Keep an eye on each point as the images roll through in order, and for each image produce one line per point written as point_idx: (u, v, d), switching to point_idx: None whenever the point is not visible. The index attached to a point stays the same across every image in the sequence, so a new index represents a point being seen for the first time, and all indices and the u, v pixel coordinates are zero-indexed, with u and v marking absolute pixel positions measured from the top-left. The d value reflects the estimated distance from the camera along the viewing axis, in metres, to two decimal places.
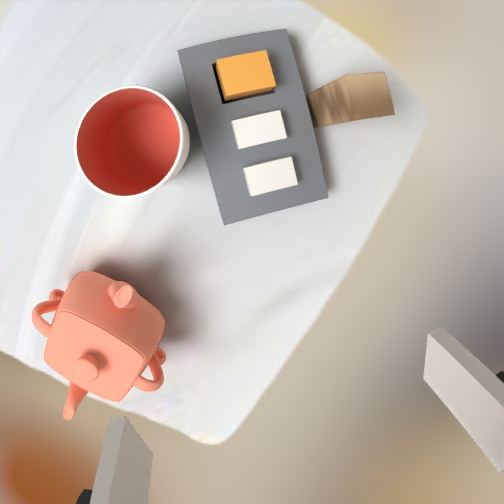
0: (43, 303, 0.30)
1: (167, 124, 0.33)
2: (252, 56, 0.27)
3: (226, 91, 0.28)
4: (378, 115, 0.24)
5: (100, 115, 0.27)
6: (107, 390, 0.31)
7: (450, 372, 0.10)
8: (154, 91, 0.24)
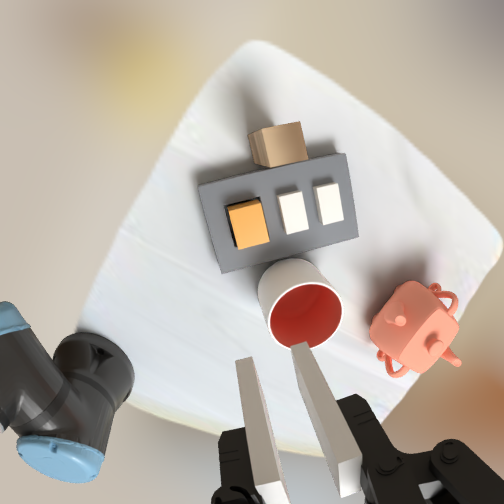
0: (387, 367, 0.47)
1: None
2: (235, 222, 0.39)
3: (265, 241, 0.40)
4: (302, 138, 0.31)
5: (276, 330, 0.43)
6: (450, 334, 0.43)
7: (303, 386, 0.12)
8: (275, 302, 0.38)
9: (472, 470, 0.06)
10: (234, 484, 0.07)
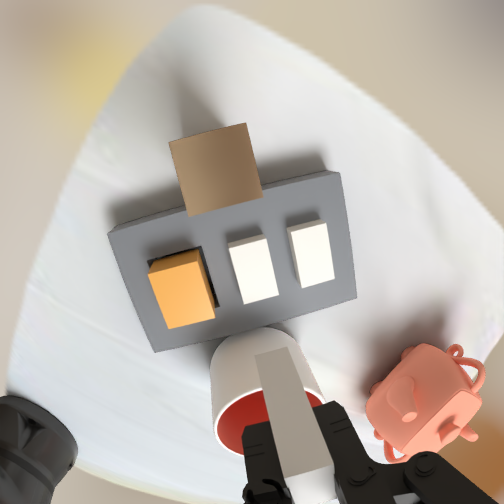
0: (385, 452, 0.33)
1: None
2: (159, 290, 0.24)
3: (209, 317, 0.26)
4: (251, 155, 0.16)
5: (233, 426, 0.29)
6: (470, 412, 0.29)
7: None
8: (222, 410, 0.23)
9: (449, 482, 0.06)
10: (267, 477, 0.07)
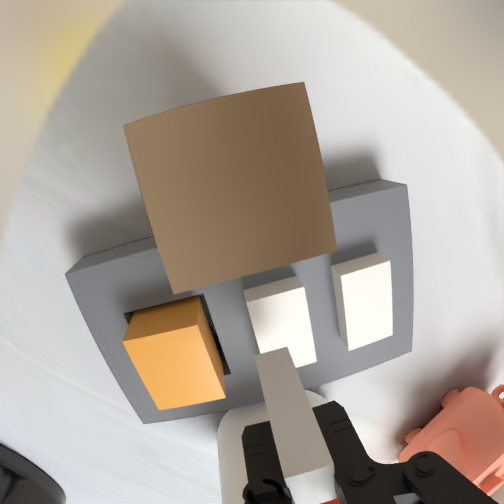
0: None
1: None
2: (141, 363, 0.15)
3: (217, 398, 0.16)
4: (316, 157, 0.07)
5: None
6: None
7: None
8: None
9: (449, 482, 0.06)
10: (267, 477, 0.07)
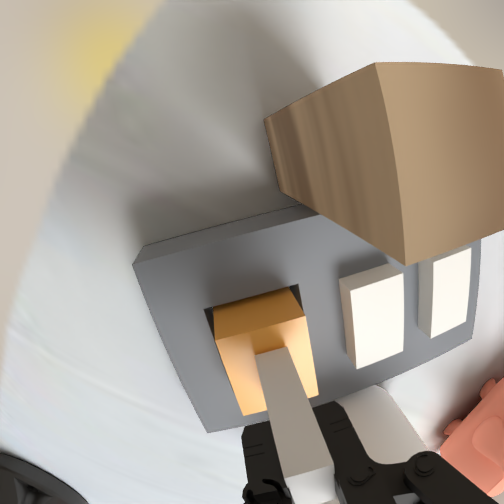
0: None
1: None
2: (234, 364, 0.14)
3: (310, 395, 0.15)
4: None
5: None
6: None
7: None
8: None
9: (449, 482, 0.06)
10: (267, 477, 0.07)
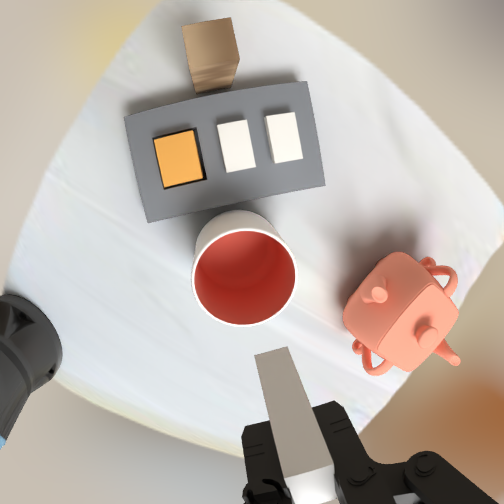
0: (363, 362, 0.38)
1: None
2: (161, 153, 0.30)
3: (197, 177, 0.32)
4: (233, 35, 0.21)
5: (211, 298, 0.34)
6: (447, 321, 0.34)
7: None
8: (200, 253, 0.29)
9: (449, 482, 0.06)
10: (267, 477, 0.07)
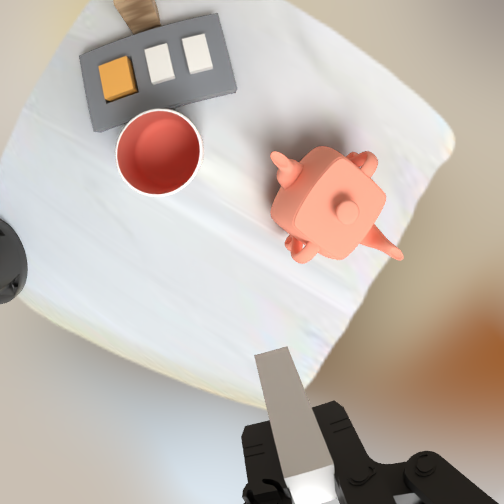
0: (291, 251, 0.41)
1: (154, 136, 0.41)
2: (103, 74, 0.34)
3: (129, 88, 0.35)
4: None
5: (138, 182, 0.37)
6: (373, 203, 0.37)
7: None
8: (121, 132, 0.32)
9: (449, 482, 0.06)
10: (267, 477, 0.07)
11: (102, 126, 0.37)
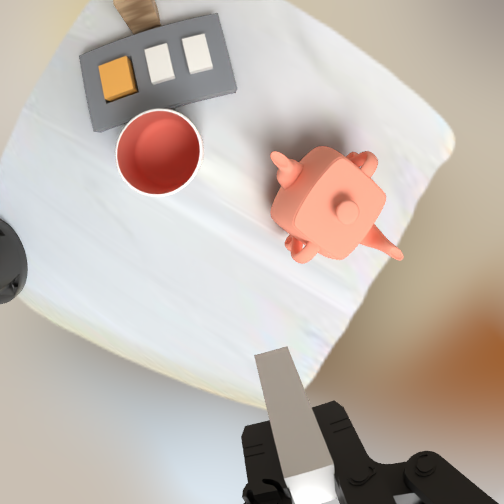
0: (291, 251, 0.41)
1: (153, 136, 0.41)
2: (103, 74, 0.34)
3: (129, 88, 0.35)
4: None
5: (138, 182, 0.37)
6: (373, 203, 0.37)
7: None
8: (121, 132, 0.32)
9: (449, 482, 0.06)
10: (267, 477, 0.07)
11: (102, 126, 0.37)
